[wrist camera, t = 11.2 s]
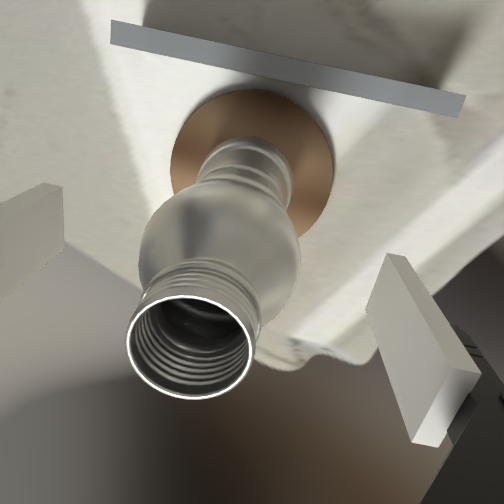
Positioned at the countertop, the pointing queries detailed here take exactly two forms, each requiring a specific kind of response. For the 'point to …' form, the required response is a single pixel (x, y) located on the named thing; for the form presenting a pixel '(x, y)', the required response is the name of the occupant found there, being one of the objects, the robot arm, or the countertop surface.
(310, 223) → the walnut coaster
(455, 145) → the countertop surface
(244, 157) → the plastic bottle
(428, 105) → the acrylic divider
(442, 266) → the countertop surface
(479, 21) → the countertop surface
